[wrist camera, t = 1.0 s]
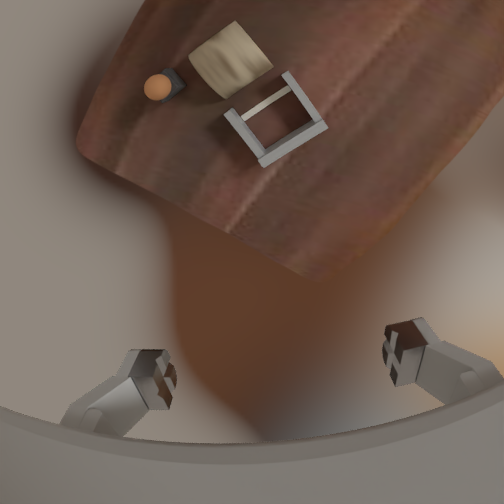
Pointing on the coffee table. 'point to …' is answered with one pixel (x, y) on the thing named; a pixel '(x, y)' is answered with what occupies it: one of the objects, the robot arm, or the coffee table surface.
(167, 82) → the ball
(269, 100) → the line
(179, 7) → the coffee table surface
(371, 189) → the coffee table surface
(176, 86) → the cube with raised frame
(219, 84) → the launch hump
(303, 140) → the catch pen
